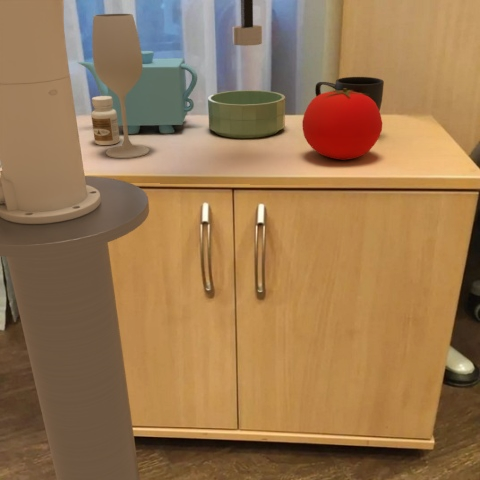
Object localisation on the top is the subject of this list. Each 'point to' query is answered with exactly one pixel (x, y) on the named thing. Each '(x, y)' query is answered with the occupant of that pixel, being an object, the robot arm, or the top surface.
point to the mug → (358, 87)
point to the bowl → (246, 113)
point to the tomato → (342, 124)
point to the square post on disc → (247, 27)
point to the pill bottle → (104, 121)
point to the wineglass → (118, 67)
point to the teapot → (153, 94)
